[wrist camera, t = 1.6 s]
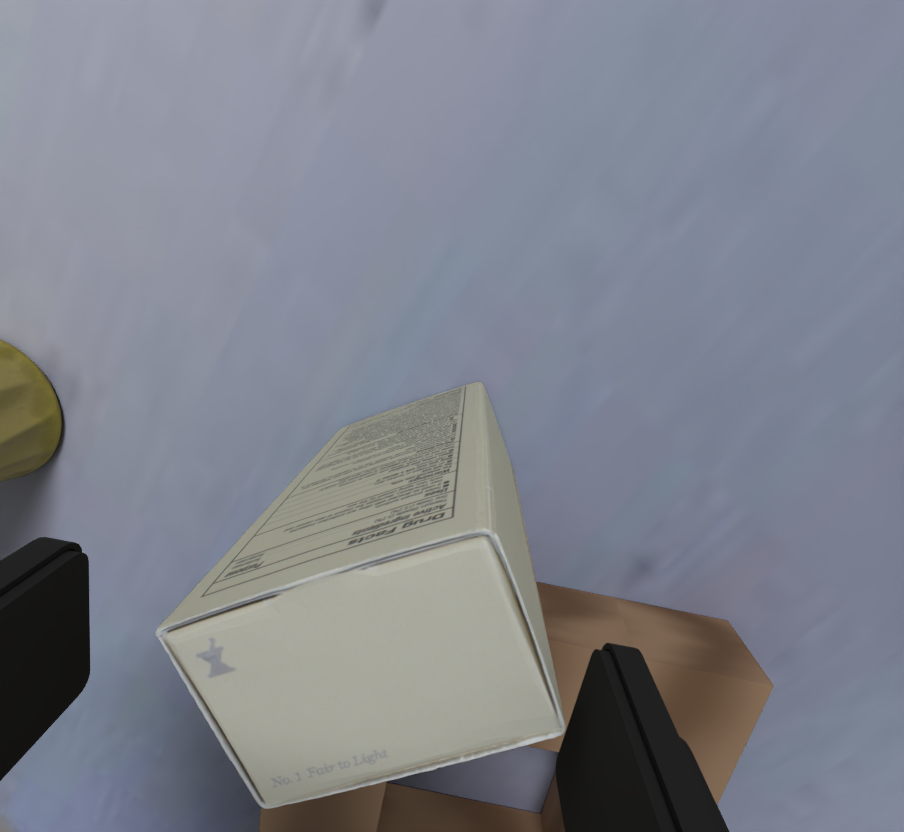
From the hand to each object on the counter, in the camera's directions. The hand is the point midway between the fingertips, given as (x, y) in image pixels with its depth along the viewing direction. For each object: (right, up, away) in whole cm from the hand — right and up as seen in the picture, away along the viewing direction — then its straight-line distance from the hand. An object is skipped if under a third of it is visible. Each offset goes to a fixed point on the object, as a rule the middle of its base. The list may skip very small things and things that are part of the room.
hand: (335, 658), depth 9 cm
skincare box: (+1, +3, +11) cm, 12 cm away
